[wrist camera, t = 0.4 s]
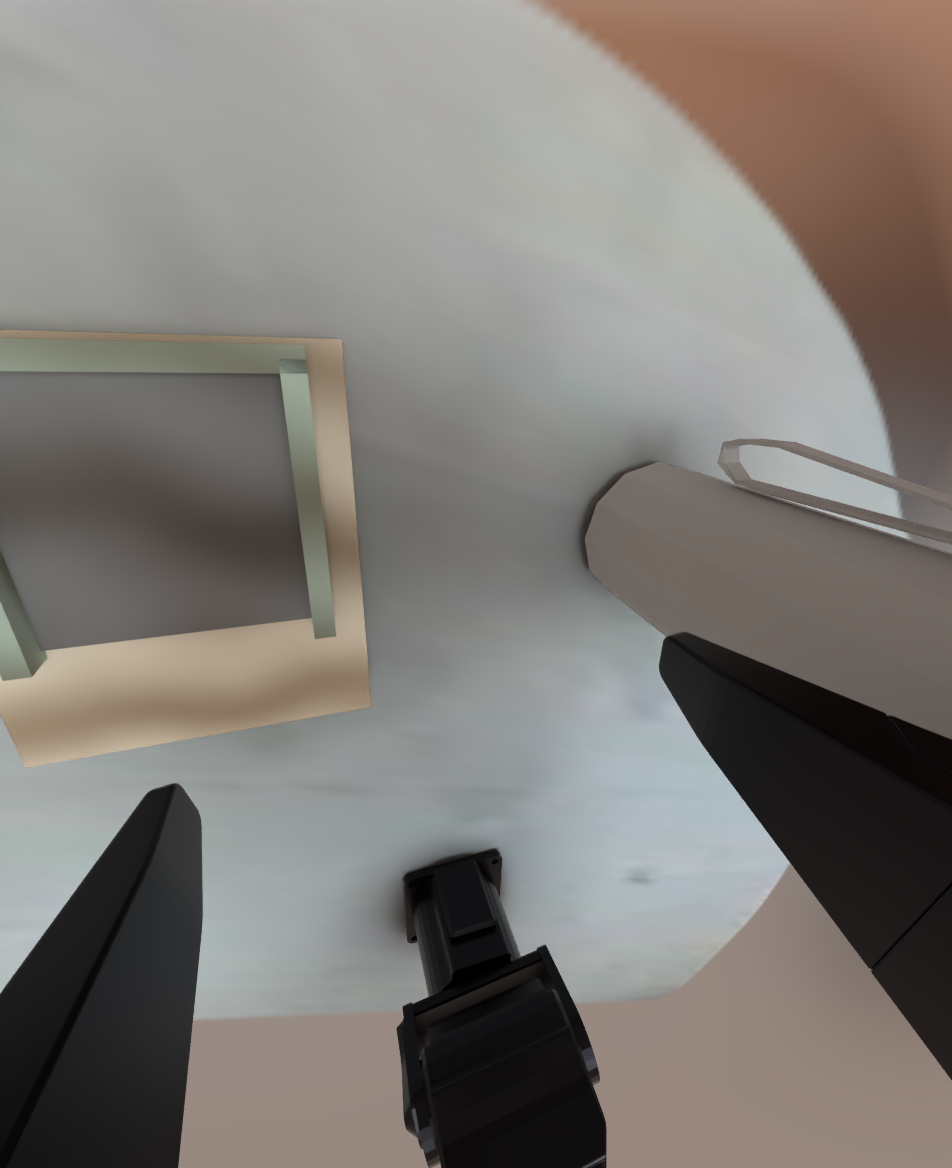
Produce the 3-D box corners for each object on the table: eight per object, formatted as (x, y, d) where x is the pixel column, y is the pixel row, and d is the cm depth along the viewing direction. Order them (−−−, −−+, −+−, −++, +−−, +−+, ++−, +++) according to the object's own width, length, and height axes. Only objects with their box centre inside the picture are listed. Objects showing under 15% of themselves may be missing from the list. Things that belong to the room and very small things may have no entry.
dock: (365, 675, 25) (374, 724, 22) (53, 725, 21) (10, 792, 18) (336, 339, 19) (344, 339, 16) (-115, 327, 15) (-227, 323, 12)
